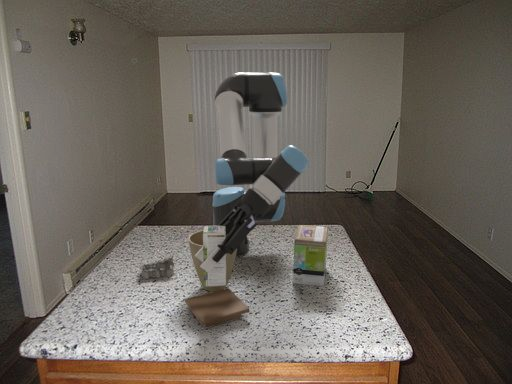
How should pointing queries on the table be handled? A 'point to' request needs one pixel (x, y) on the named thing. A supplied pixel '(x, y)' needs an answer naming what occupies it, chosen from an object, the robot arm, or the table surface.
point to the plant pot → (195, 246)
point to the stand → (216, 307)
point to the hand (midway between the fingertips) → (201, 263)
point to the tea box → (310, 255)
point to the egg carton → (164, 266)
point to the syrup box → (210, 243)
